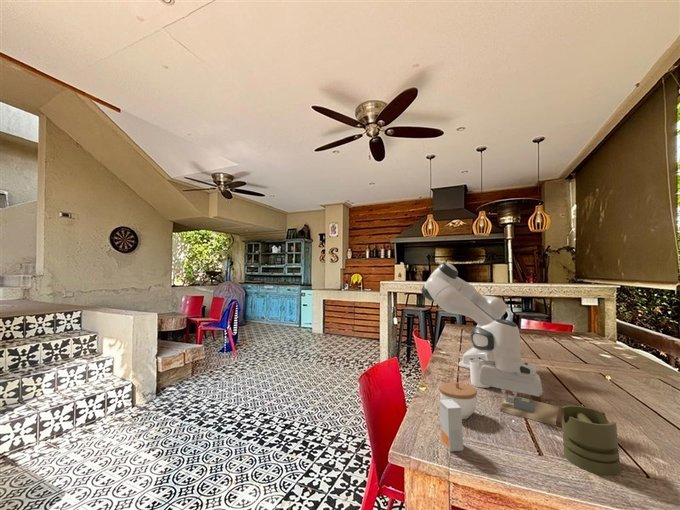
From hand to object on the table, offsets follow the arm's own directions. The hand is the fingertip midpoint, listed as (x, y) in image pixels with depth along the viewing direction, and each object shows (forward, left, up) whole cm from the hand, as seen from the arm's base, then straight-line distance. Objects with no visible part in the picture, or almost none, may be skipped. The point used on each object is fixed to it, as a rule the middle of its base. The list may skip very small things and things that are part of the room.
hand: (510, 402), depth 107 cm
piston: (+22, -21, -3) cm, 31 cm away
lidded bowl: (-14, -16, -3) cm, 21 cm away
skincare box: (-9, -37, -3) cm, 38 cm away
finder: (+5, 0, -1) cm, 5 cm away
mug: (-14, +19, -3) cm, 24 cm away
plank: (+9, +3, -3) cm, 10 cm away
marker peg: (+6, +15, -3) cm, 17 cm away
